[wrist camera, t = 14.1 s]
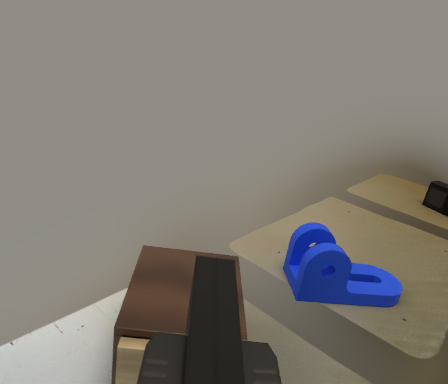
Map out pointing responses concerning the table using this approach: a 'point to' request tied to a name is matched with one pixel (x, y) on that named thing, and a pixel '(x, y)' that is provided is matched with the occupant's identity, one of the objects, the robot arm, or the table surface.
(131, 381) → the drawer
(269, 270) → the table surface
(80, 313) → the table surface
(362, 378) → the table surface
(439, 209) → the digital camera
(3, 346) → the table surface
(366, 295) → the bracket
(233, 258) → the cabinet
